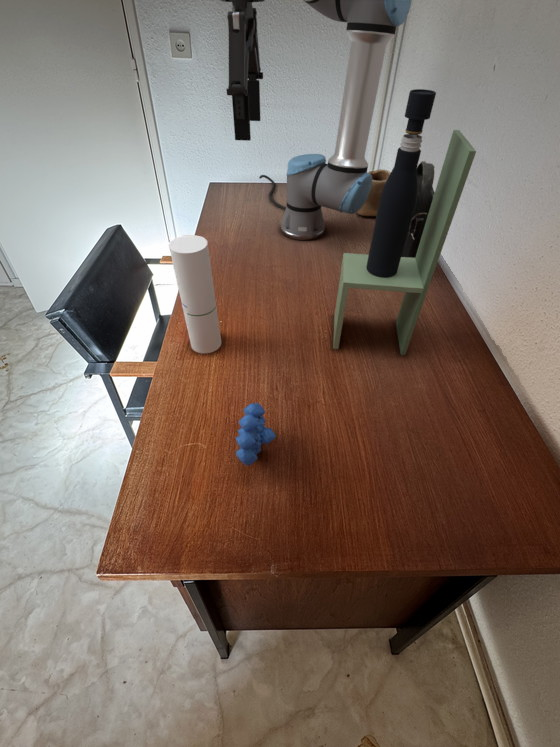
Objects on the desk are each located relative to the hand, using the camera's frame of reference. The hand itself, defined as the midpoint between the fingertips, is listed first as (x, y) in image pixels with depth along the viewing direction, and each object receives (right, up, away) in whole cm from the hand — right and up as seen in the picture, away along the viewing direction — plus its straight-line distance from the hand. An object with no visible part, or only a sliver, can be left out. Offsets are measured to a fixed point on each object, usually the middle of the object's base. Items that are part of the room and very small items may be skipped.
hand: (248, 129), depth 71 cm
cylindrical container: (-11, -40, +17) cm, 45 cm away
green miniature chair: (+27, -37, +19) cm, 50 cm away
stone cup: (+42, +13, +68) cm, 81 cm away
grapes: (+2, -61, -3) cm, 62 cm away
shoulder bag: (+43, -13, +44) cm, 62 cm away
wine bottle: (+27, -25, +7) cm, 38 cm away
